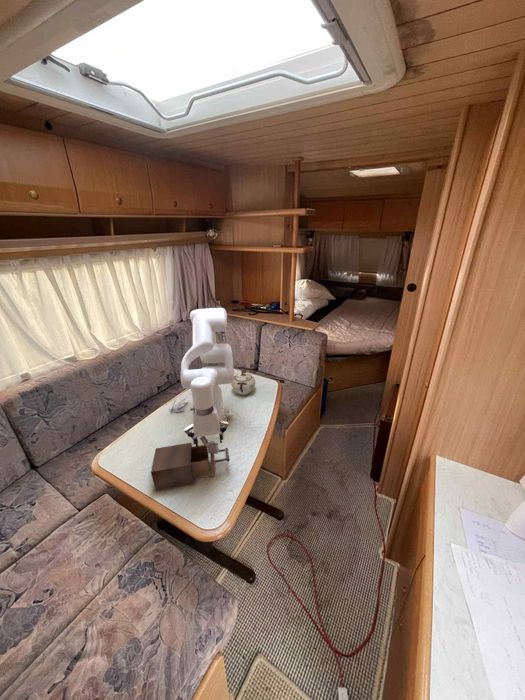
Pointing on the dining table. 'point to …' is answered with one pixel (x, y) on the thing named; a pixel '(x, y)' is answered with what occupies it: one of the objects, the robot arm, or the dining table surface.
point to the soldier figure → (177, 406)
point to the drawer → (204, 461)
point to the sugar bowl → (243, 383)
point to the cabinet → (172, 466)
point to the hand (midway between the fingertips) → (209, 442)
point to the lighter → (210, 445)
